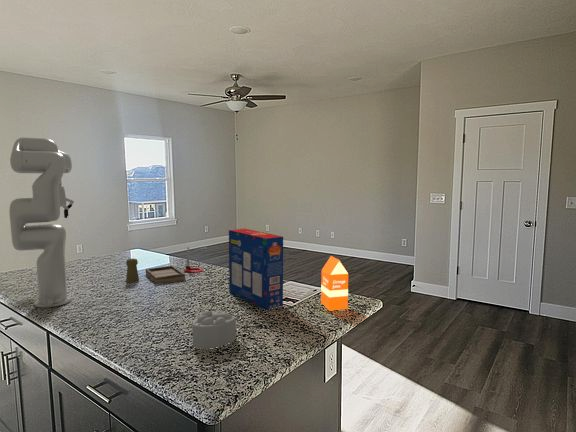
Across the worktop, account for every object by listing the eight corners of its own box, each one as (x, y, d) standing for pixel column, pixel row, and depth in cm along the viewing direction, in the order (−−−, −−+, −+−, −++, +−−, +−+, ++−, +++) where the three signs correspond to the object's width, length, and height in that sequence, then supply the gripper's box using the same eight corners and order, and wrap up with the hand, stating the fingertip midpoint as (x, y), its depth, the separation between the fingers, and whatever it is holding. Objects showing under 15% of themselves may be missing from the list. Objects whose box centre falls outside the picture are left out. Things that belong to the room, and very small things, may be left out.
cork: (135, 278, 184) (134, 257, 182) (141, 280, 180) (140, 258, 179) (123, 281, 179) (122, 259, 178) (129, 283, 175) (128, 260, 174)
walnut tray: (185, 280, 182) (184, 273, 181) (155, 284, 174) (155, 277, 174) (173, 271, 198) (172, 265, 198) (145, 275, 190) (145, 269, 190)
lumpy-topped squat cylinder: (240, 340, 115) (239, 313, 114) (204, 354, 106) (203, 325, 105) (220, 330, 122) (220, 305, 121) (185, 342, 113) (184, 315, 112)
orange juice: (328, 312, 139) (329, 260, 136) (320, 305, 147) (321, 255, 145) (348, 311, 141) (349, 259, 139) (338, 303, 149) (339, 254, 147)
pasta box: (282, 306, 145) (283, 236, 142) (266, 310, 140) (266, 238, 137) (244, 289, 167) (244, 228, 164) (229, 292, 162) (228, 230, 159)
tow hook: (205, 270, 203) (190, 268, 205) (206, 247, 201) (190, 245, 203) (198, 274, 194) (182, 272, 197) (198, 250, 193) (182, 248, 195)
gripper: (32, 183, 171) (34, 220, 173) (74, 183, 183) (76, 217, 184) (29, 183, 177) (32, 219, 178) (70, 183, 188) (72, 216, 190)
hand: (54, 218), depth 181 cm, fingers open, 9 cm apart
